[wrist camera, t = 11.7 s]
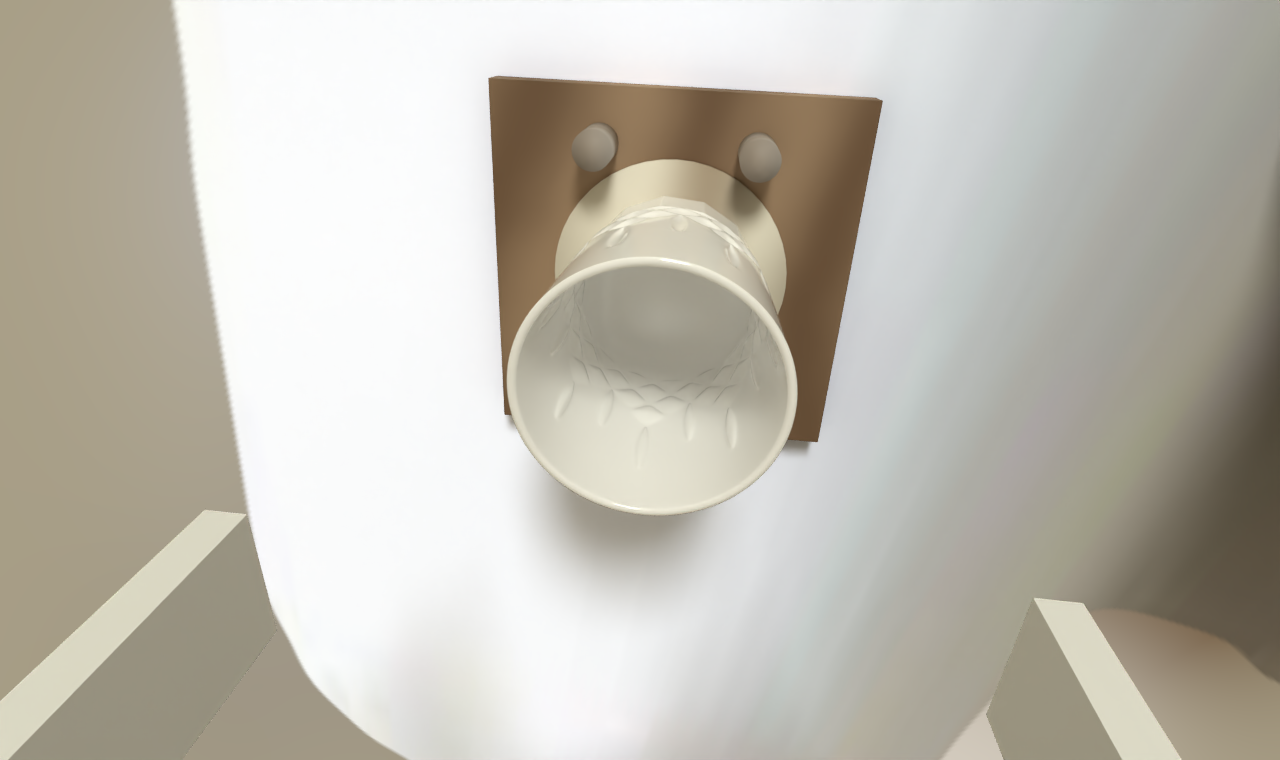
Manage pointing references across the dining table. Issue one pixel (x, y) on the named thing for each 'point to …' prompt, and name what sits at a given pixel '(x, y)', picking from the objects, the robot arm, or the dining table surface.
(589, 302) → the white cup
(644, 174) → the pin board
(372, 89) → the dining table surface
